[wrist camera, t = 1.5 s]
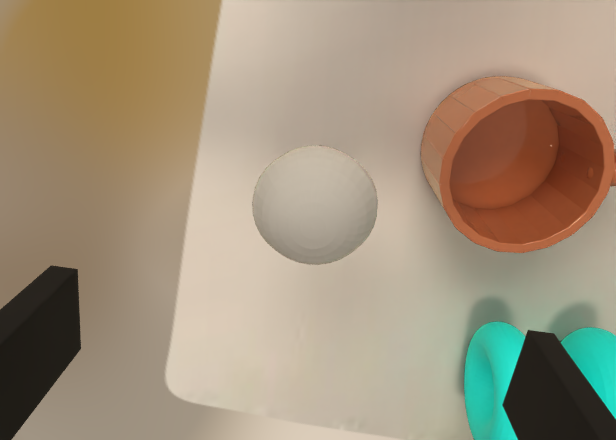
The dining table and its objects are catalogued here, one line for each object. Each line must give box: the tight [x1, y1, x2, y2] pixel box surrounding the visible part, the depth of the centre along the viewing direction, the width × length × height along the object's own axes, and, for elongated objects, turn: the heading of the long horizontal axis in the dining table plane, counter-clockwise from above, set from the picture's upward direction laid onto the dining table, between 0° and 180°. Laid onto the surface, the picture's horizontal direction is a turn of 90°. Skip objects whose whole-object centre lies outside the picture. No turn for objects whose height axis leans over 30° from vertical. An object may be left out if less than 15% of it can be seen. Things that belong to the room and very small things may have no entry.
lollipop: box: [253, 145, 378, 265], centre depth 29 cm, size 6×6×15 cm
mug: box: [421, 76, 616, 253], centre depth 32 cm, size 13×10×7 cm
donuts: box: [464, 321, 616, 440], centre depth 37 cm, size 10×10×10 cm
